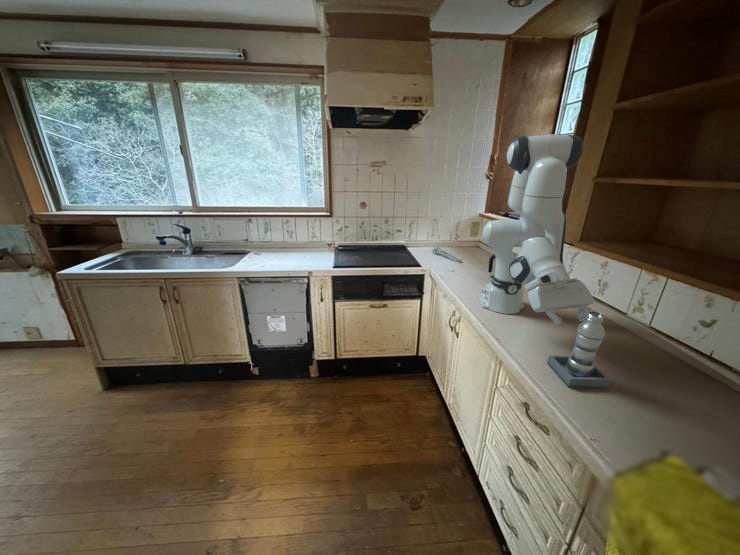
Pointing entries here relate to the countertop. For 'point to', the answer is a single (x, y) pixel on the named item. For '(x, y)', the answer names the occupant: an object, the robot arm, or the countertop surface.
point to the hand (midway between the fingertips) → (571, 322)
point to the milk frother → (492, 263)
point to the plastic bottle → (586, 345)
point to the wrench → (444, 253)
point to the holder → (572, 381)
